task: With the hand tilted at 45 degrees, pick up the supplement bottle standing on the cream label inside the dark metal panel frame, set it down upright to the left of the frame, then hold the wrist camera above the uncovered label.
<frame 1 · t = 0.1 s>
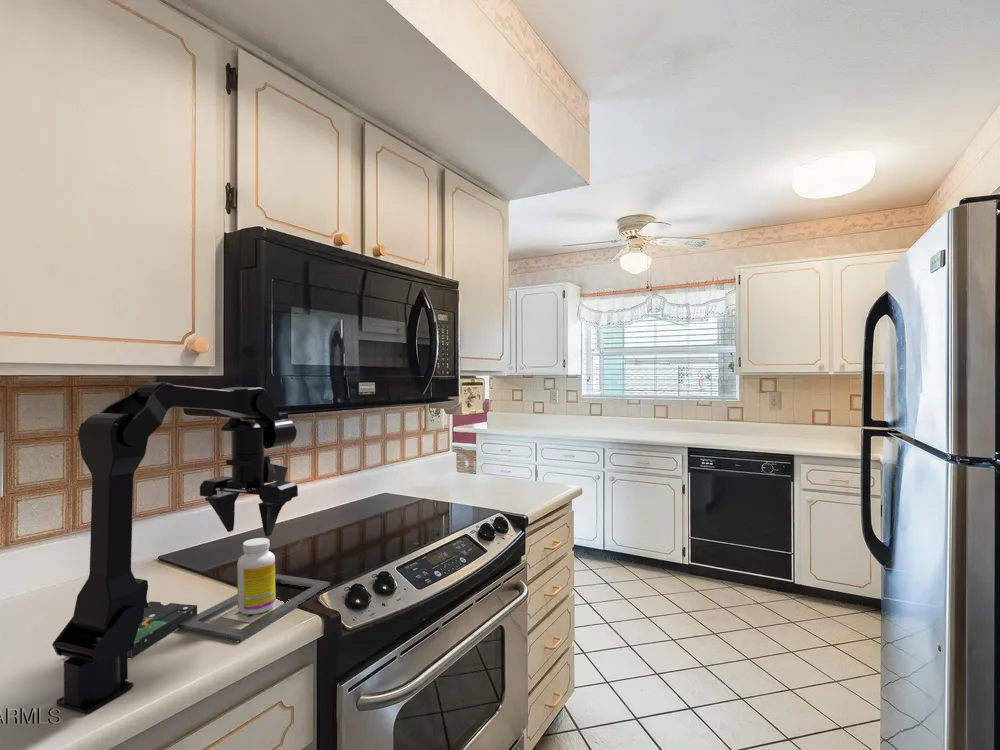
hand: (249, 533, 101), 15 cm above the counter, tool pointing down, fingers open, 9 cm apart
supplement bottle: (257, 608, 102), resting on label panel
label panel: (260, 606, 103), on the counter
disk drive: (141, 637, 92), on the counter
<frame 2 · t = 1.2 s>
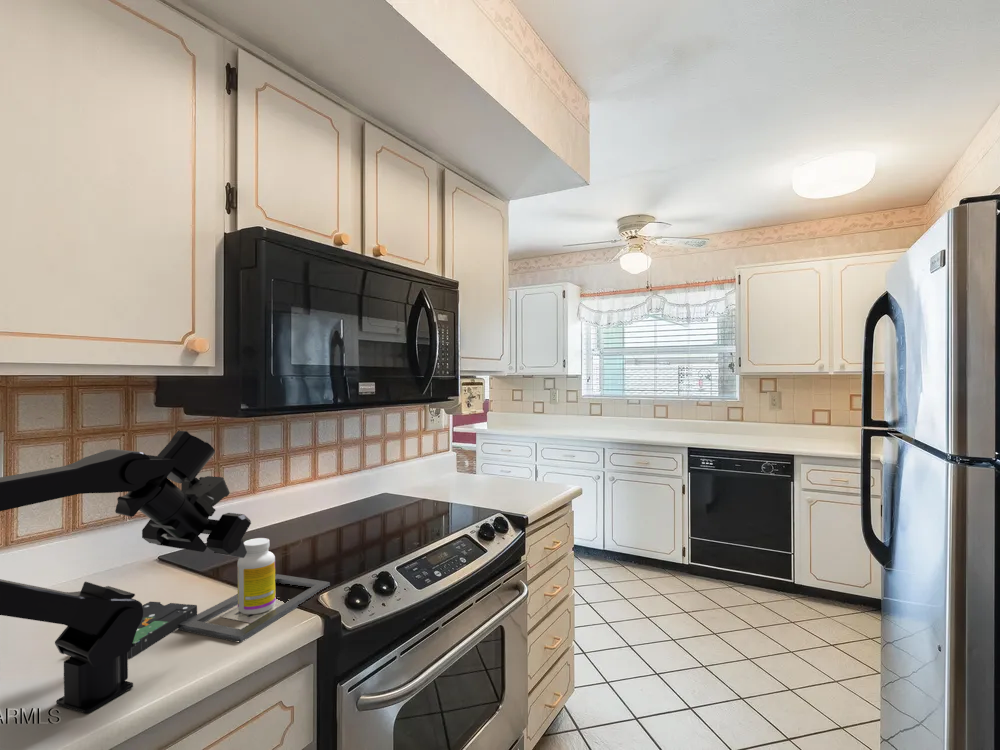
hand: (224, 552, 94), 13 cm above the counter, tool tilted 45°, fingers open, 9 cm apart
nothing on the counter moved.
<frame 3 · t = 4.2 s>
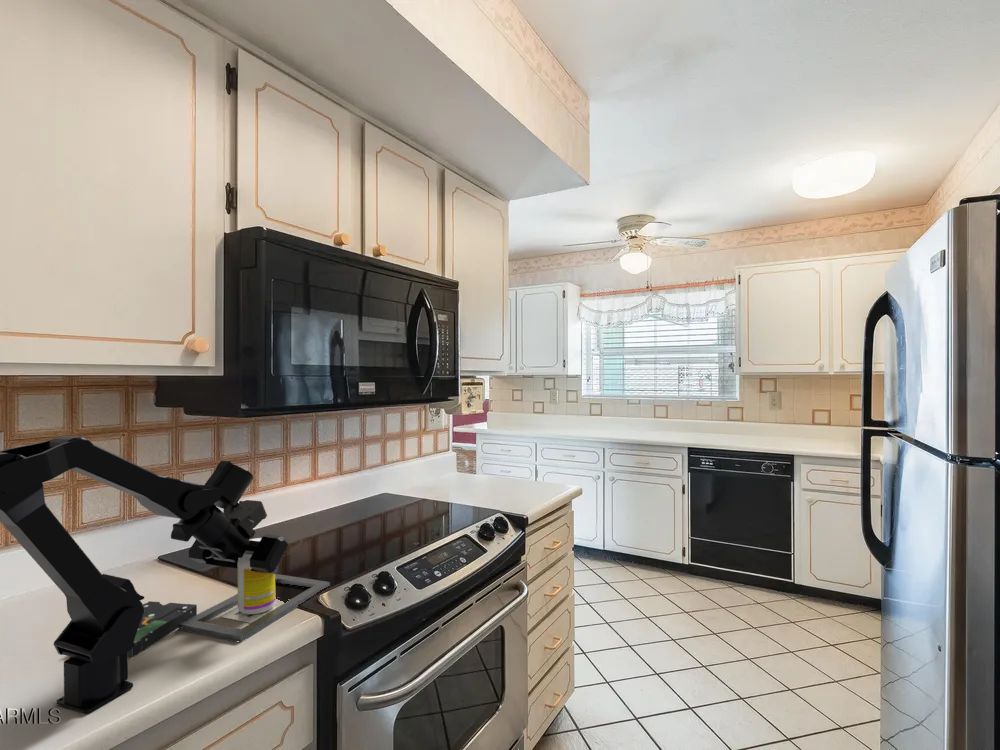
hand: (262, 569, 103), 7 cm above the counter, tool tilted 45°, fingers closed on supplement bottle, 7 cm apart
supplement bottle: (257, 608, 102), resting on label panel, touching gripper
everything else where it was.
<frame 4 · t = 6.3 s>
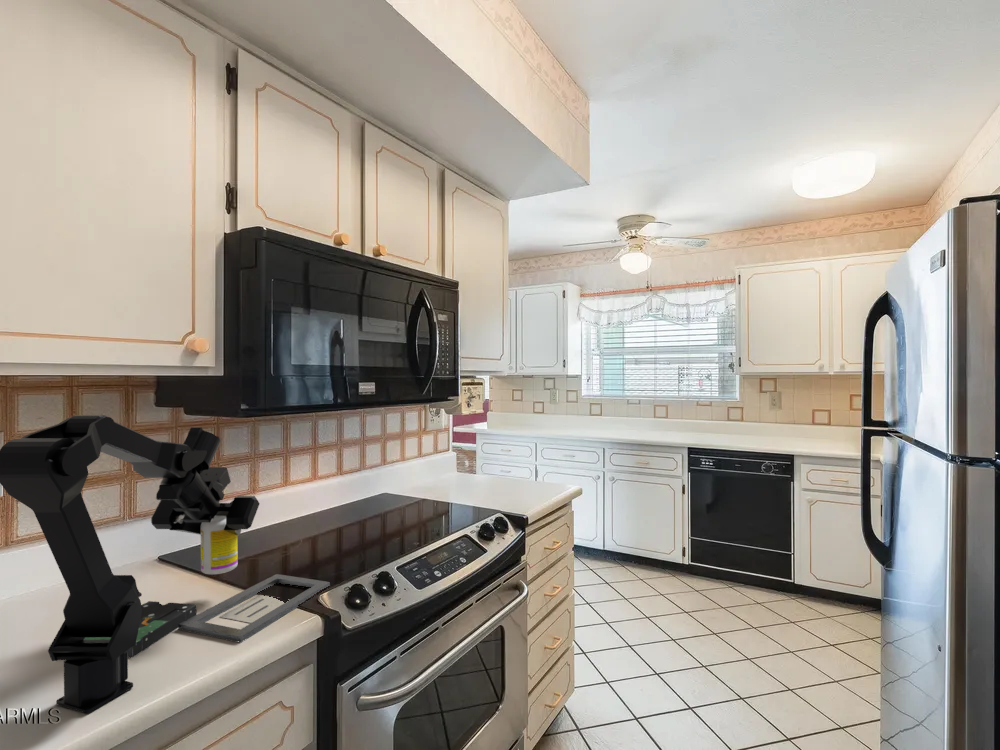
hand: (222, 533, 108), 12 cm above the counter, tool tilted 45°, fingers closed on supplement bottle, 7 cm apart
supplement bottle: (219, 570, 107), point 5 cm above the counter, touching gripper
everything else where it was.
when the fingers open (8 cm above the counter, at t = 8.3 s): supplement bottle drops 1 cm, on the counter.
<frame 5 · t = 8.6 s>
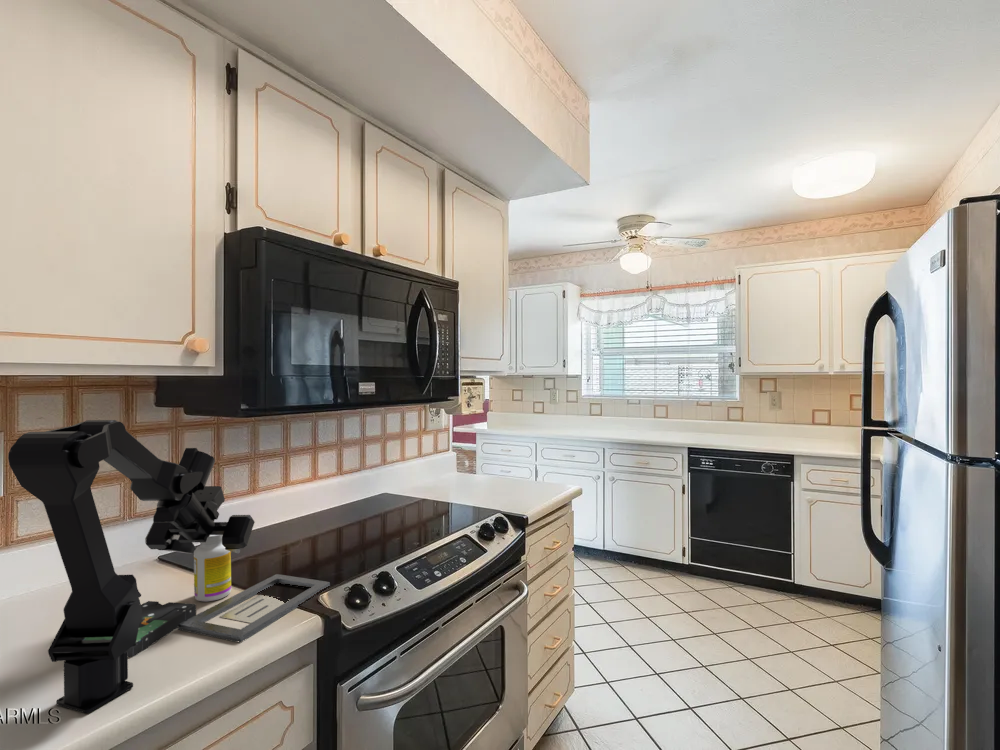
hand: (216, 551, 109), 9 cm above the counter, tool tilted 45°, fingers open, 9 cm apart
supplement bottle: (213, 596, 107), on the counter
everything else where it was.
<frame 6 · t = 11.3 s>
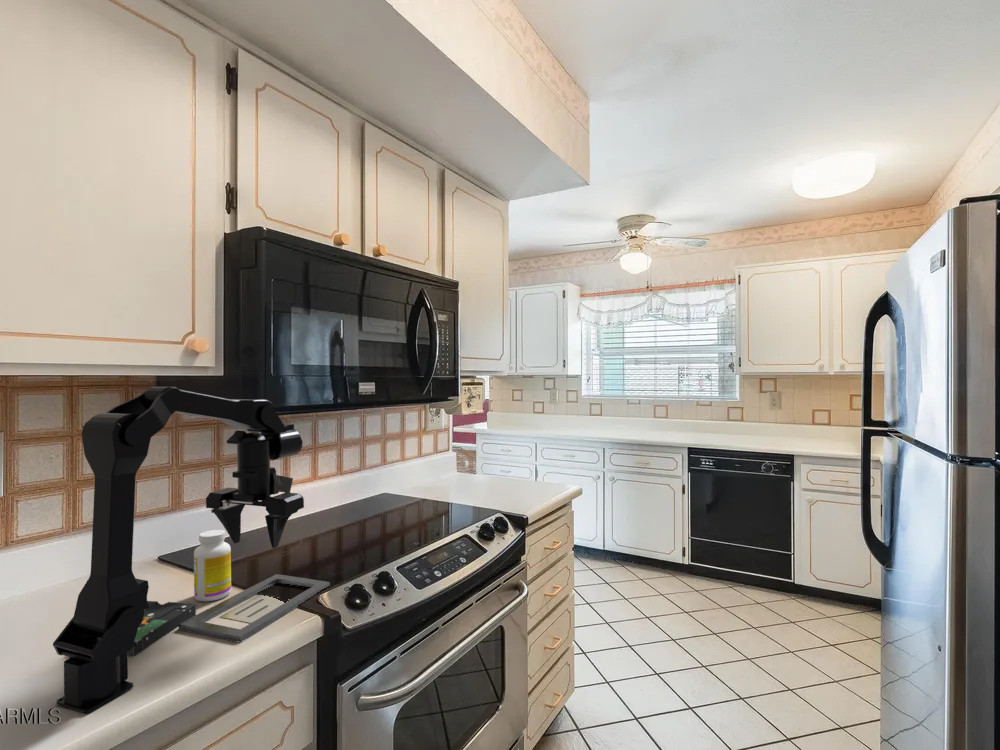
hand: (255, 545, 102), 12 cm above the counter, tool pointing down, fingers open, 9 cm apart
nothing on the counter moved.
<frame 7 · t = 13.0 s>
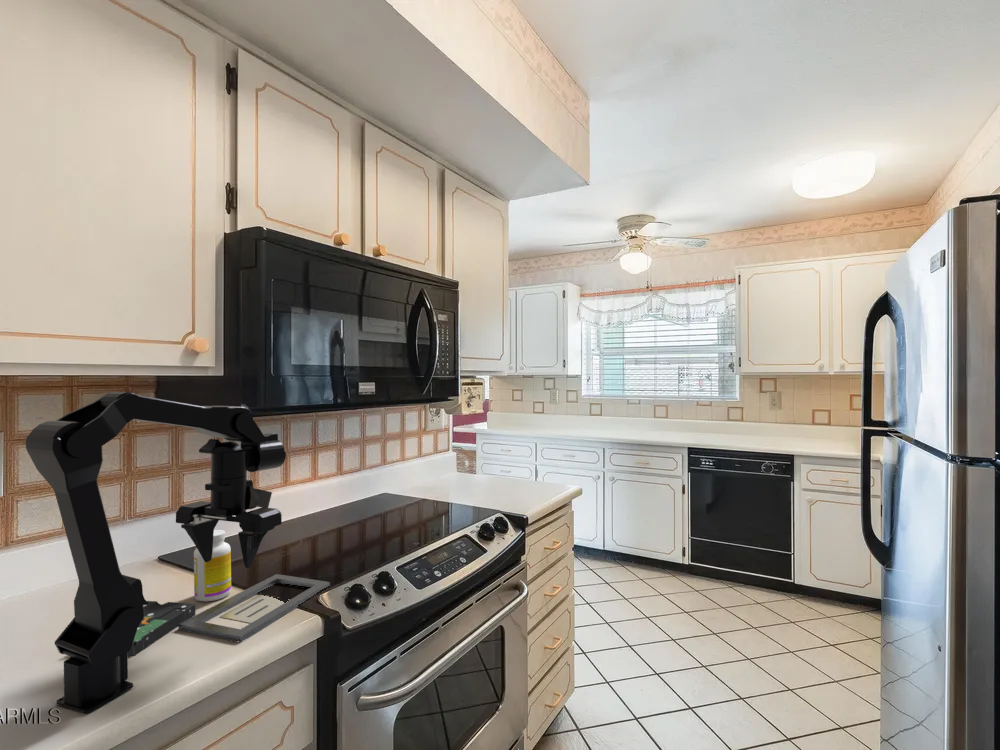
hand: (228, 564, 94), 12 cm above the counter, tool pointing down, fingers open, 9 cm apart
nothing on the counter moved.
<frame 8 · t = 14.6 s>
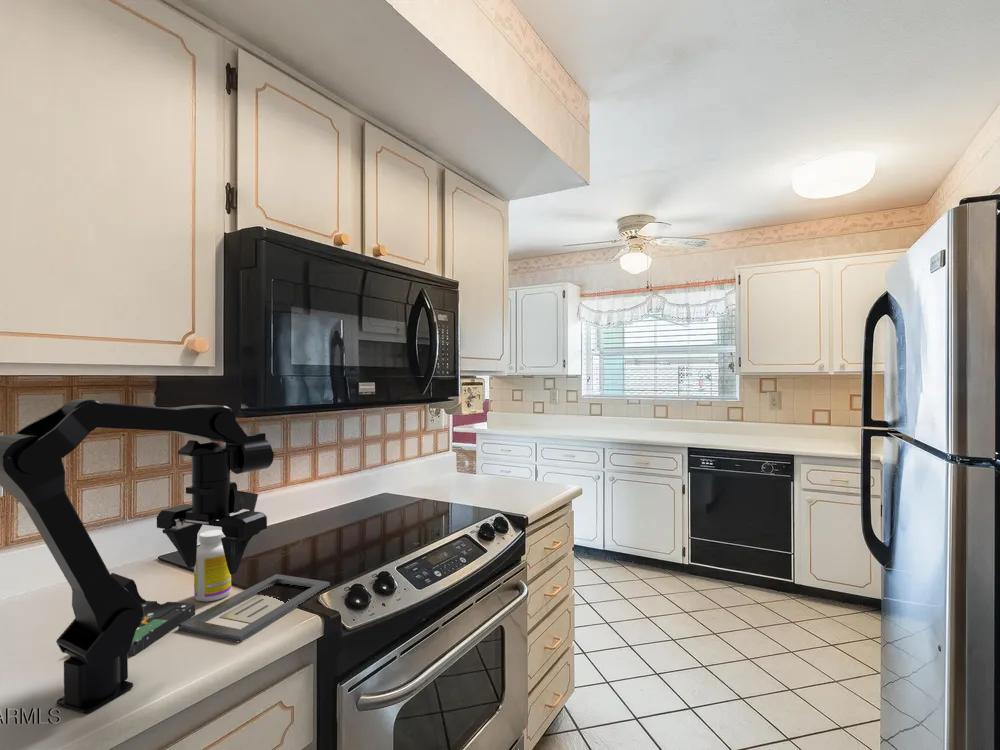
hand: (212, 570, 89), 12 cm above the counter, tool pointing down, fingers open, 9 cm apart
nothing on the counter moved.
at the end: supplement bottle inside the target area (0.5 cm from its centre), on the counter; supplement bottle tilted 0°; the gripper is holding nothing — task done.
